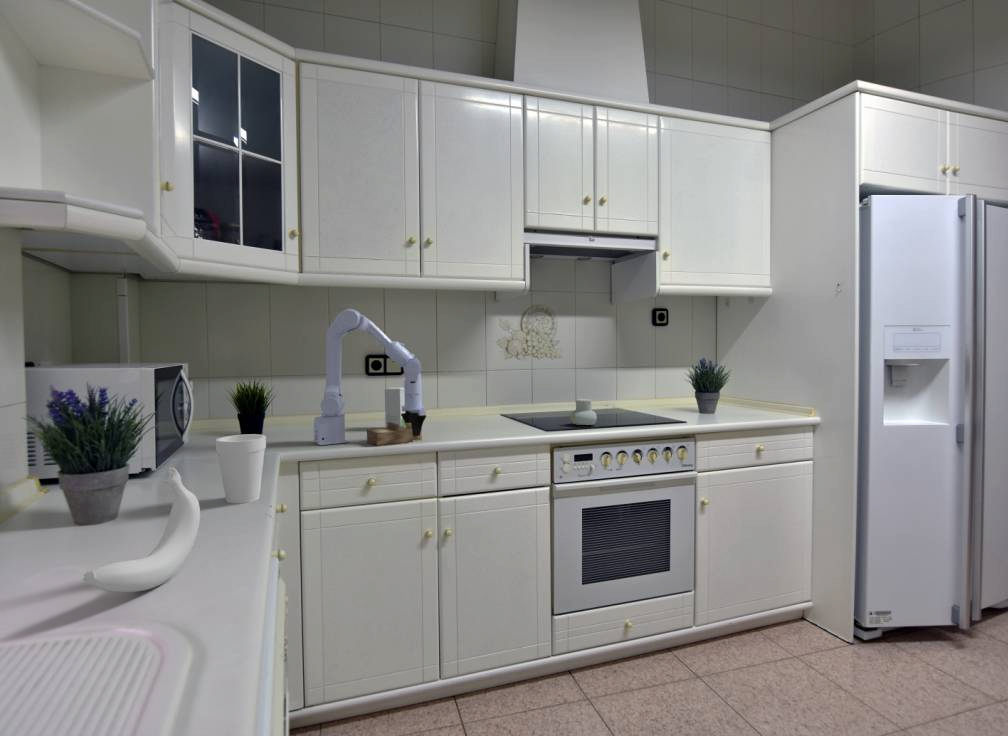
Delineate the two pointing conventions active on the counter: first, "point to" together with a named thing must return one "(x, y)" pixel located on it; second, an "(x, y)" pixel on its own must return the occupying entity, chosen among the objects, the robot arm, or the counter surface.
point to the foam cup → (241, 466)
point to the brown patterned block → (409, 426)
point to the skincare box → (394, 405)
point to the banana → (166, 553)
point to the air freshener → (583, 413)
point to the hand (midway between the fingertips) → (413, 434)
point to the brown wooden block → (389, 437)
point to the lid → (390, 428)
